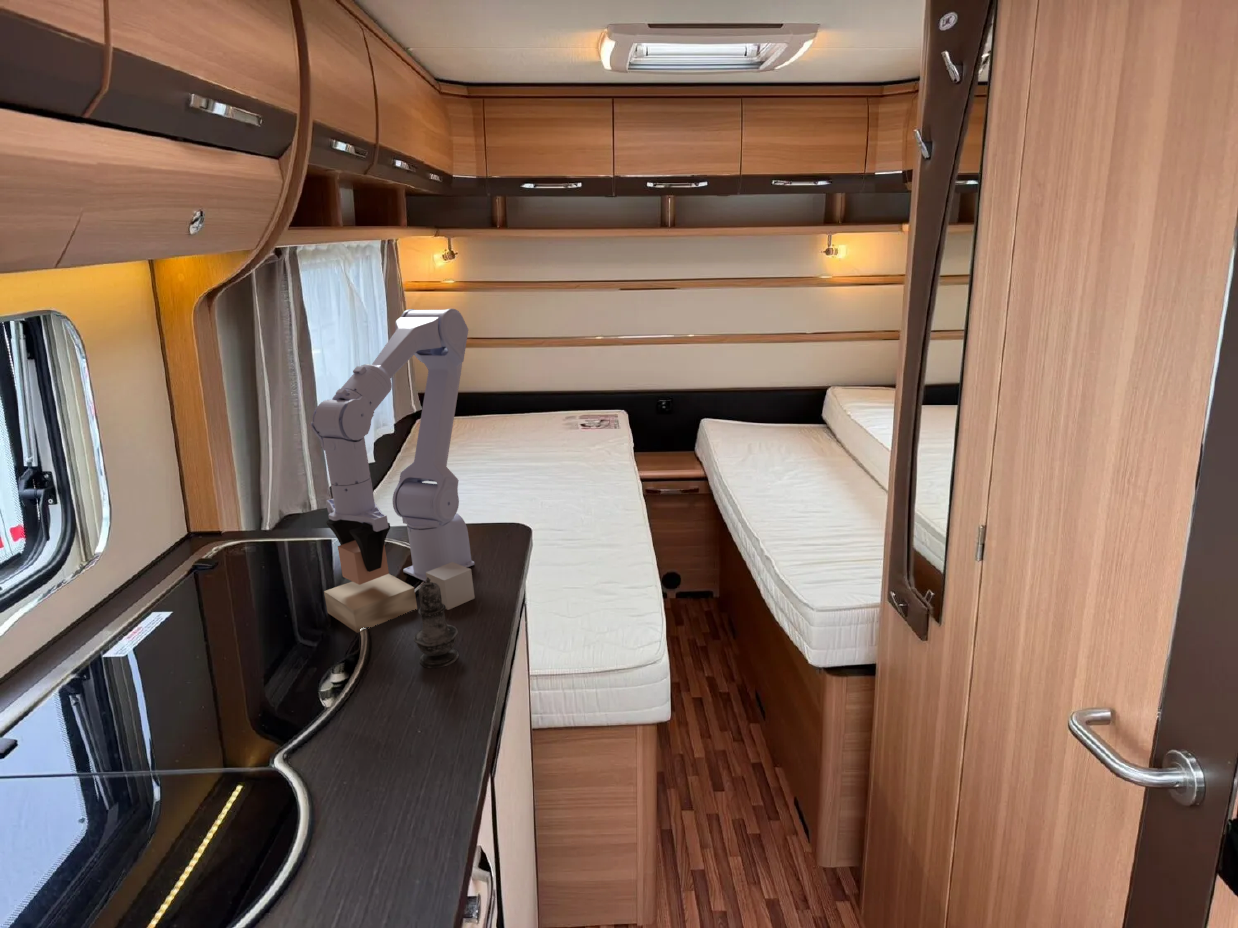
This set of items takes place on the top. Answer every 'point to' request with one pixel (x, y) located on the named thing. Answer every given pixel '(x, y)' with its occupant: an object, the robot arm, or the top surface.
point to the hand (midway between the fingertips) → (364, 564)
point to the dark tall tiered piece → (435, 629)
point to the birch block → (370, 601)
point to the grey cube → (453, 584)
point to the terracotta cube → (358, 564)
